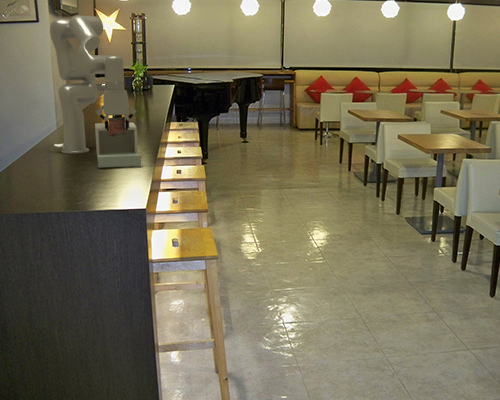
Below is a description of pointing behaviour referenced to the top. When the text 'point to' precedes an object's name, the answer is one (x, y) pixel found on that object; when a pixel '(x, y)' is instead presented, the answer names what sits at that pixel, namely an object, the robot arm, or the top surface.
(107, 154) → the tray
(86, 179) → the top surface
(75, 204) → the top surface
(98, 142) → the cabinet
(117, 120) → the lighter
